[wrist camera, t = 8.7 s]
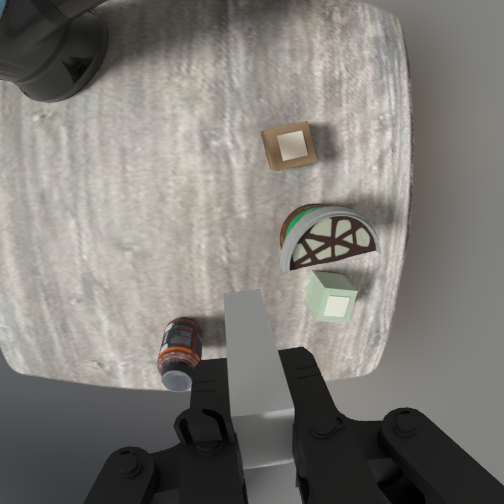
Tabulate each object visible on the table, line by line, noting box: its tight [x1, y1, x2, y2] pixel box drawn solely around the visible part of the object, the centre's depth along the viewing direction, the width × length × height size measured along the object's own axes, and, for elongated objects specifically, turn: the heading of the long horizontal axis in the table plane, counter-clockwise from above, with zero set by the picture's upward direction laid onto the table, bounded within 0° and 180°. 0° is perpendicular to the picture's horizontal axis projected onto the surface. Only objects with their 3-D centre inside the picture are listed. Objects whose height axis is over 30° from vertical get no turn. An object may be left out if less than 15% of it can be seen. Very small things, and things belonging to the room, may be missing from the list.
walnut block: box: [261, 121, 317, 171], centre depth 35 cm, size 5×5×5 cm
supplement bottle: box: [157, 318, 202, 392], centre depth 40 cm, size 6×6×11 cm
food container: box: [280, 204, 381, 275], centre depth 37 cm, size 12×6×10 cm, turn 101°
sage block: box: [304, 271, 358, 323], centre depth 42 cm, size 5×5×6 cm
